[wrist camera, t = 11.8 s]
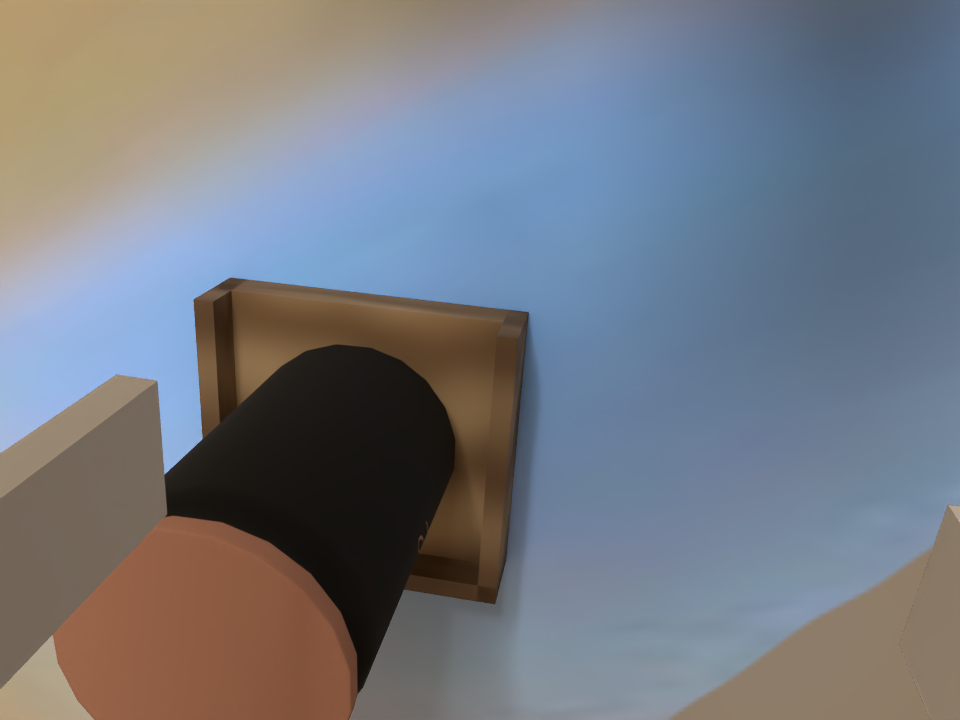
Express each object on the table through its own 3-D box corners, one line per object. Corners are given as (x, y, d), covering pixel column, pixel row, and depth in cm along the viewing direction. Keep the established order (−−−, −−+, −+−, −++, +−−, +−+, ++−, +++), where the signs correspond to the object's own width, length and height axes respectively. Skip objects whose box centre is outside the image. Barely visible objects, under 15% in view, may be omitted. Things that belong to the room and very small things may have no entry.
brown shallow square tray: (230, 277, 44) (193, 299, 41) (528, 312, 42) (518, 338, 39) (241, 519, 50) (210, 557, 46) (505, 560, 48) (495, 604, 44)
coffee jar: (323, 540, 47) (154, 813, 31) (230, 376, 44) (-11, 579, 28) (493, 486, 44) (408, 758, 27) (405, 305, 41) (251, 486, 25)
